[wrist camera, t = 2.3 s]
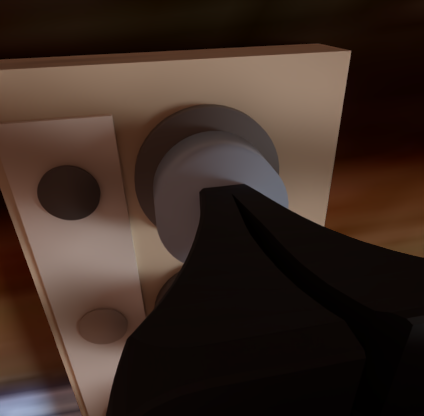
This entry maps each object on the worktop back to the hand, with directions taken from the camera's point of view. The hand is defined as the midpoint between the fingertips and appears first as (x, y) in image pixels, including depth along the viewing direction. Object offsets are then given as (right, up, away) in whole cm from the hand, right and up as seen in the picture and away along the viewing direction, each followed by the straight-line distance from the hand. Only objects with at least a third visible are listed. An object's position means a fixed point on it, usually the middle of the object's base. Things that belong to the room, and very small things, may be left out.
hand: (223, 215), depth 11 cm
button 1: (0, +1, +2) cm, 2 cm away
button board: (-2, -3, +8) cm, 9 cm away
